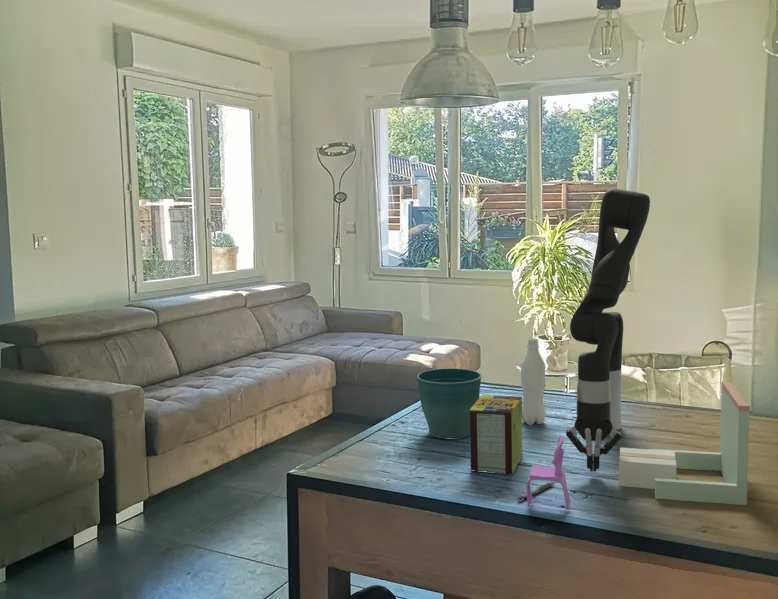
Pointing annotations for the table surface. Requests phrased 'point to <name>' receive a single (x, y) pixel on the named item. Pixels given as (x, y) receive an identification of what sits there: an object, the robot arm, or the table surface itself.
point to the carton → (645, 467)
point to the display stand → (716, 459)
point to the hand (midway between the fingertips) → (593, 470)
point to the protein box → (496, 433)
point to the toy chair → (550, 473)
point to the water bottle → (533, 384)
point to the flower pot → (448, 400)
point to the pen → (537, 490)
